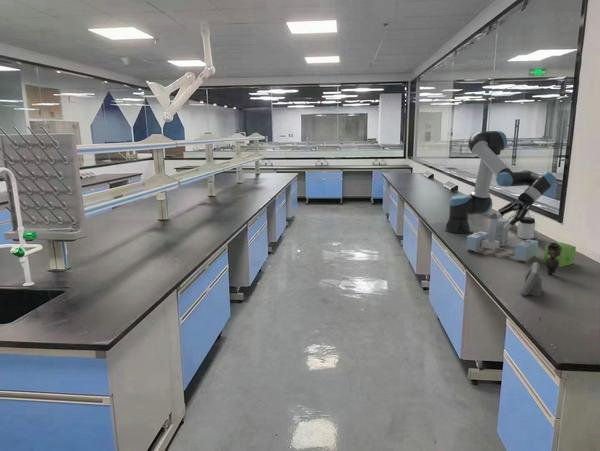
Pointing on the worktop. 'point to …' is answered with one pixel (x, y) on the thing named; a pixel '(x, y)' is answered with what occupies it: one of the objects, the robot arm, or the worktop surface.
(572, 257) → the lime green rounded box
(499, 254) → the rail bench
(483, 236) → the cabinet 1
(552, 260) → the dark brown figurine
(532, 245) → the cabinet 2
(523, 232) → the jar
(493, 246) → the white stand
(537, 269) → the gray robed figurine
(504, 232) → the supplement tub
